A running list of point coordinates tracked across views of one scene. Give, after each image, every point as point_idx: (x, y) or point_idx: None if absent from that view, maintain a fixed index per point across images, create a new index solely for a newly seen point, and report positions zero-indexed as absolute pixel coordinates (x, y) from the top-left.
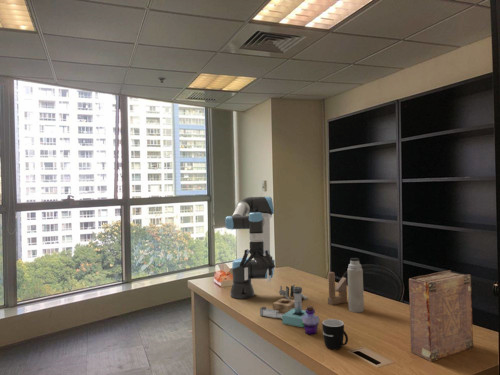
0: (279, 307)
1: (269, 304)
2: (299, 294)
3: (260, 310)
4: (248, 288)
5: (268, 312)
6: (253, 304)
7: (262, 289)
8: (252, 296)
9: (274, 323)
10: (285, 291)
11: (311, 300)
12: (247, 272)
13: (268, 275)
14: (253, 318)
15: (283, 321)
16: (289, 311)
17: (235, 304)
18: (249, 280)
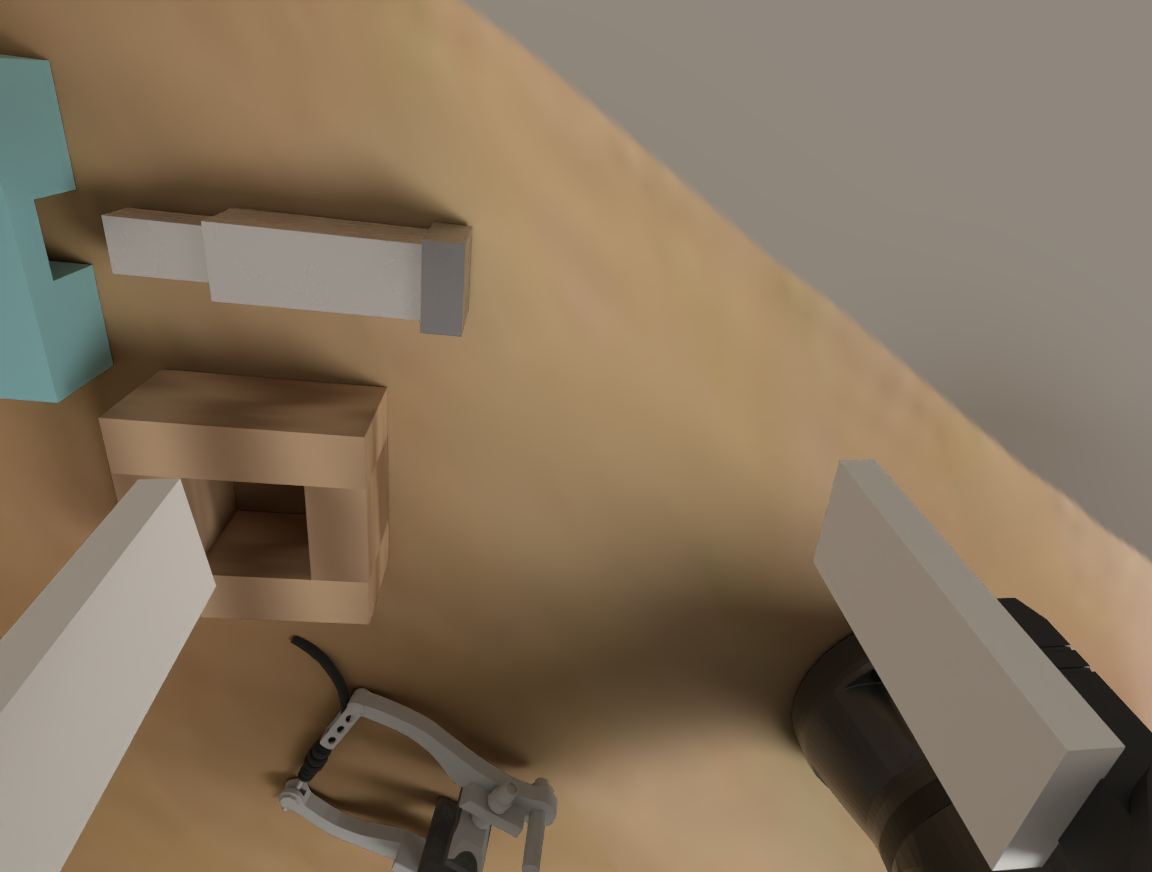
0: (276, 411)
1: (548, 580)
2: None
3: (459, 239)
4: (865, 746)
5: (335, 231)
6: (708, 527)
7: (773, 851)
8: (797, 694)
9: (143, 16)
10: (479, 817)
11: (237, 780)
12: (905, 686)
13: (27, 613)
14: (506, 99)
15: (10, 56)
16: (8, 272)
17: (900, 464)
18: (899, 849)
